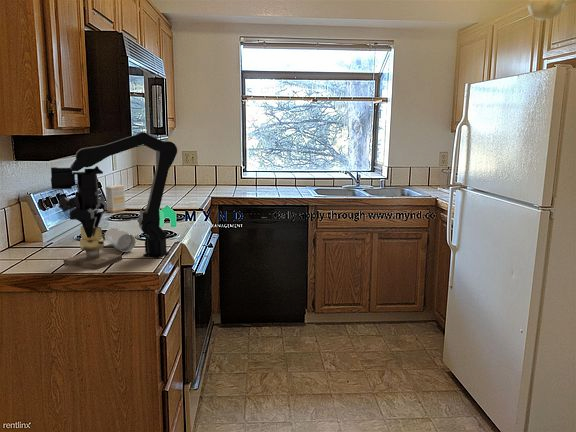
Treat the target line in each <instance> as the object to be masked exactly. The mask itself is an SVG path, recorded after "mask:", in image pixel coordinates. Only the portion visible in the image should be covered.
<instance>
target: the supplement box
mask: <svg viewBox="0 0 576 432" xmlns="http://www.w3.org/2000/svg"><path fill="white" fill-rule="evenodd" d="M105 194H106V203H107V212H108V213H117V212H121V211H126V210H127V209H126V196H125V185H123V184H122V185H119V184H117V185H109V186H105Z"/></svg>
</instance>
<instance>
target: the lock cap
mask: <svg viewBox="0 0 576 432" xmlns="http://www.w3.org/2000/svg"><path fill="white" fill-rule="evenodd" d="M102 231H103V230H102V227H100V226H98V227H94V229H93V233H92V236H91V238H88V237H87V235H86V233H85V230H84V228H83V225H81V226H80V237H81V238H80V239H79V244H80V245H79V246H80V250H81V251H85V252H86V251H94V250H99V251H100V250H103V249H104V248H105V243H104V242H105V241H104V240H105V239H104V237H103V235H102V234H103V232H102Z"/></svg>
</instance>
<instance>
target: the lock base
mask: <svg viewBox="0 0 576 432" xmlns="http://www.w3.org/2000/svg"><path fill="white" fill-rule="evenodd" d="M62 260H63V265H67V266H68V265H69V266H76V267H81V268H82V267H83V268H88V269H94V270H99V269H101V268H104V267H107V266H109V265H112V264H115V263H118V262H120V261H122V260H123V255H122V254H121V255H120V254H114V253H113V254H112V253H108V252H107V253H106V252H100V249H99V250H94V251H85V252H82V253H79V254H76V255H73V256H70V257H66V258H64V259H62Z"/></svg>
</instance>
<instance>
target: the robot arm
mask: <svg viewBox="0 0 576 432" xmlns="http://www.w3.org/2000/svg"><path fill="white" fill-rule="evenodd" d="M140 146H145V147H147V148H149V149H150V150H153V151H154V152H155V166H156V167H155V170H154V176H153V179H152V183H151V187H150V192H149V197H148V199H147V204H146V205H147V206H145V207H146V208H145V209H144V210H142V209H139V217H138V219H137V223H138V226H139V229H140V230H141V231H142V232H143V233H144V235H146V236H145V241H144V250H145V251H144V252H145V253H143V256H144V257H149V258H157V259H158V258H161V257H163V256H166V255H168V254H170V251H167V233H166V232H165V230H164V229H162V227H160V224H161V223H160V221H161V216H160V208H161V205H162V200H163V199H162V198H163V195H164V190H165V186H166V183H167V178H168V175H169V174H168V173H169V170H170V168H171V166H172V165H173V163H174V161H175V158H176V157H177V153H178V147H177V145H176V144H175V143H174V142H173V141H168V140H161V139H158V138H156V137H155V136H152V135H150V134H148V132H145V131H144V132H143V131H140V132H137V133H136V134H132V135H130V136H127V137H124V138H121V139H118V140H115V141H112V142H109V143H106V144H103V145H96V146H95V145H94V146H89V147H83V148H82V147H81V148H79V149H78V150H77V151H76V153H75V160H74V161H73V162H72V164H71V165H70V167H57V166H54V167H53V166H52V167H51V168H50V174H51V177H50V184H51V190H52V191H55V190H72V189H73V188H72V187H74V186H76V179H77V191H76V192H75V194H74V195H75V196H73V197H71V198H68V197H67V196H66V197H63V198H60V199H59V202H58V208H59V209H61V210H62V212H63V213H65V212H67V211H68V210H71V209H72V210H71V211H70V212H69V214H68V215H69V220H73V221H74V220H76V221H78V222H80V223H81V226H83V228H84V230H85V233H86V235H87V237H88V238H91V236H92V233H93V229H94V227H99V224H100V222H101V220H102V218H103V215H104V212H105V211H106V210H107V201H105V200H99V195H100V193H101V191H100V190H99V188H98V177H97V176H98V175H103V174H104V172H103V170H101V169H100V167H99V166H98V165H96V164H98V163H100V162H102V161H103V160H105V159H107V158H108V157H111V156H113V155H117V154H119V153H123V152H126V151H129V150H131V149H134V148H137V147H140ZM95 165H96V166H95ZM93 166H95V167H94V168H93ZM90 167H92V168H90ZM82 169H84V171H80V170H82ZM100 210H103V211H104V212H103V211H100Z"/></svg>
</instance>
